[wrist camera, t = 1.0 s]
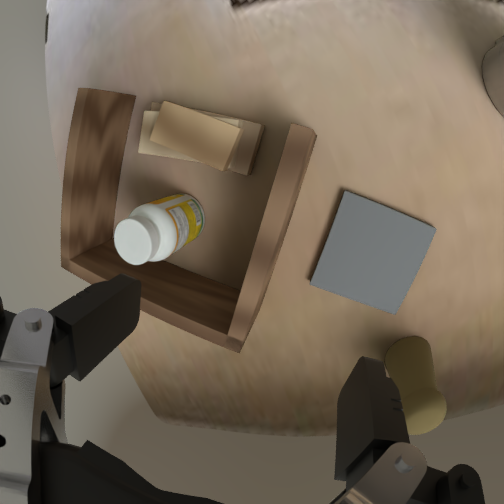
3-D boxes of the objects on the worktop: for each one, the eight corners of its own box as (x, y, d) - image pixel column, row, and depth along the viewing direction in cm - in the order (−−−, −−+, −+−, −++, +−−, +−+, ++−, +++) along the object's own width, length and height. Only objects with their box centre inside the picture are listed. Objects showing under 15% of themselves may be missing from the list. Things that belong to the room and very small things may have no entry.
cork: (377, 350, 31) (386, 421, 21) (422, 327, 29) (447, 394, 19) (394, 381, 32) (403, 449, 22) (436, 361, 30) (457, 426, 20)
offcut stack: (160, 101, 28) (137, 97, 24) (265, 123, 27) (255, 119, 23) (148, 150, 30) (125, 152, 26) (249, 178, 29) (237, 183, 25)
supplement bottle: (213, 207, 31) (168, 231, 22) (194, 249, 33) (148, 285, 24) (172, 184, 31) (116, 199, 22) (156, 225, 33) (102, 252, 24)
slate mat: (344, 189, 27) (345, 190, 26) (434, 227, 25) (436, 229, 25) (310, 281, 31) (309, 284, 30) (394, 311, 29) (395, 314, 29)
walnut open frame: (126, 95, 29) (78, 87, 21) (317, 136, 26) (312, 129, 18) (103, 245, 36) (61, 266, 29) (259, 310, 33) (239, 353, 26)
